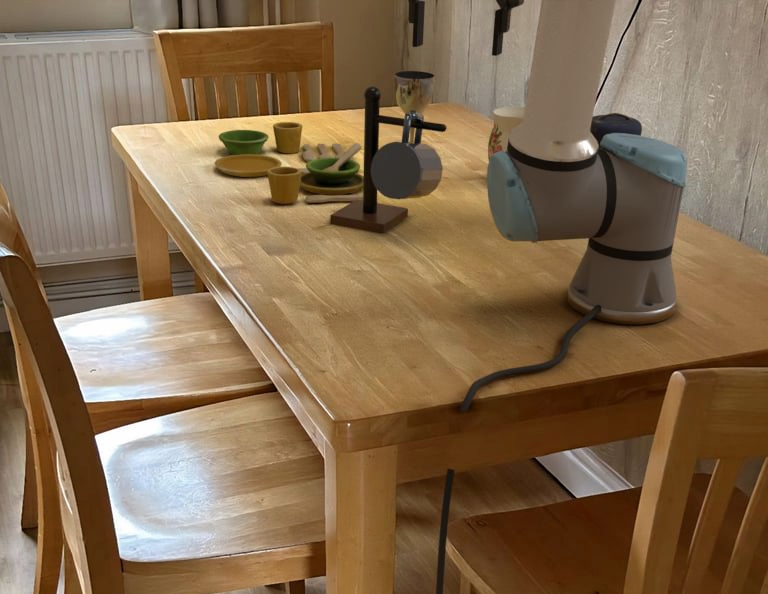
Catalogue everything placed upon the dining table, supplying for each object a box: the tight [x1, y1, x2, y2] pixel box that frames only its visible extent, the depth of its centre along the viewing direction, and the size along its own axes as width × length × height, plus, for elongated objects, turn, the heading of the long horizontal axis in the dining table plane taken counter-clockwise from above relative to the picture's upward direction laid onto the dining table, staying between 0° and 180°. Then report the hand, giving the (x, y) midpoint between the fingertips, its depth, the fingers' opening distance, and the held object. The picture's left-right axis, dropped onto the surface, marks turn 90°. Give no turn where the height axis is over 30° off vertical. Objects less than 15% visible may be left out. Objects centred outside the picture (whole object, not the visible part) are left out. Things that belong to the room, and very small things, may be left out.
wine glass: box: [394, 70, 435, 142], centre depth 216 cm, size 8×8×15 cm
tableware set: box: [214, 121, 364, 205], centre depth 202 cm, size 41×28×6 cm
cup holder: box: [330, 85, 447, 234], centre depth 174 cm, size 10×18×22 cm, turn 65°
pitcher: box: [487, 106, 525, 161], centre depth 199 cm, size 11×18×14 cm, turn 17°
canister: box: [590, 112, 643, 149], centre depth 181 cm, size 10×10×18 cm
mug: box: [371, 112, 444, 200], centre depth 170 cm, size 13×9×10 cm
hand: (456, 50), depth 170 cm, fingers open, 13 cm apart
